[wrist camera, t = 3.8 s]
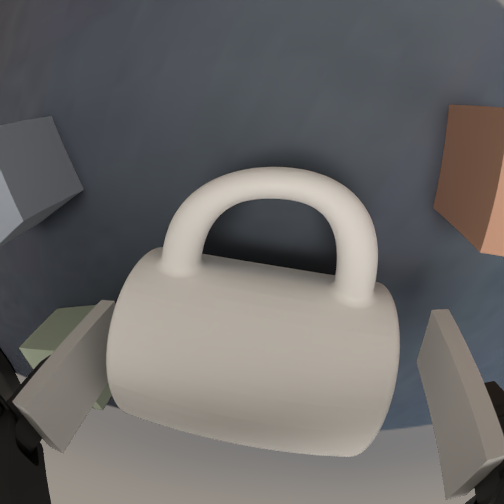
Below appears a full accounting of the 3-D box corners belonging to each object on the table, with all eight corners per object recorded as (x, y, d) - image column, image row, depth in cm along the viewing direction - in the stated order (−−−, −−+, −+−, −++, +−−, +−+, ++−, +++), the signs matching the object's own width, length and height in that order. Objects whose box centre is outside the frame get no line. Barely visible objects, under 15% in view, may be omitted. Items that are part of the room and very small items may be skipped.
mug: (337, 368, 18) (339, 484, 11) (179, 340, 19) (127, 442, 12) (396, 171, 13) (484, 243, 6) (179, 140, 14) (63, 179, 7)
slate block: (40, 222, 17) (-13, 255, 13) (11, 158, 15) (-45, 179, 11) (84, 189, 16) (23, 220, 11) (52, 115, 14) (-14, 129, 9)
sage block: (87, 358, 22) (57, 400, 18) (57, 307, 20) (18, 347, 16) (133, 360, 21) (102, 410, 16) (102, 303, 19) (60, 351, 14)
